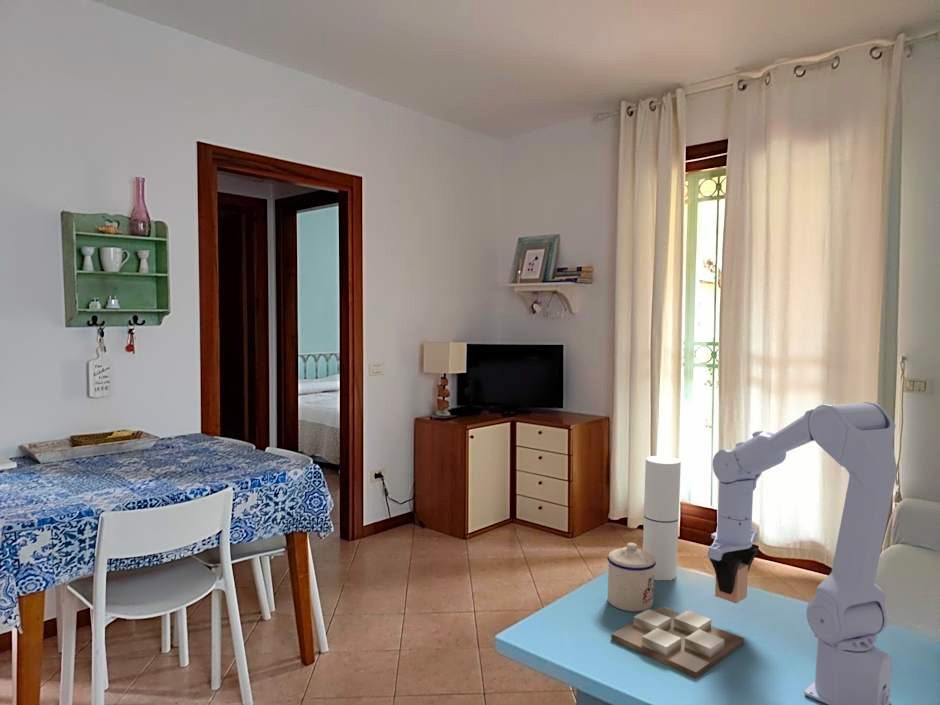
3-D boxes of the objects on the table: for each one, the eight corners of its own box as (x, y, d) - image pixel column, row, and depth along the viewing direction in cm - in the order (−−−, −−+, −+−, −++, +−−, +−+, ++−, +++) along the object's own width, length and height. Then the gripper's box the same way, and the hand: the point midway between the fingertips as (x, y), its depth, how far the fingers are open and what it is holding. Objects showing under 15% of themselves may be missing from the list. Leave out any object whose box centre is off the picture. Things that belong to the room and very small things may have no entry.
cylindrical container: (641, 578, 143) (645, 462, 141) (642, 565, 150) (646, 454, 148) (676, 582, 141) (680, 465, 139) (676, 569, 148) (680, 457, 146)
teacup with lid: (653, 616, 126) (655, 555, 125) (604, 609, 129) (605, 549, 128) (655, 589, 138) (657, 533, 137) (609, 583, 140) (611, 529, 139)
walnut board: (743, 643, 116) (744, 629, 116) (695, 678, 106) (696, 663, 105) (661, 611, 128) (662, 598, 128) (611, 639, 117) (611, 625, 117)
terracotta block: (746, 597, 123) (748, 564, 122) (736, 603, 120) (737, 570, 120) (725, 589, 126) (727, 558, 125) (715, 596, 123) (716, 564, 123)
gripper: (732, 502, 130) (729, 571, 131) (693, 518, 120) (690, 592, 121) (769, 511, 124) (766, 582, 125) (731, 528, 115) (728, 605, 116)
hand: (731, 588), depth 123 cm, fingers closed on terracotta block, 4 cm apart
